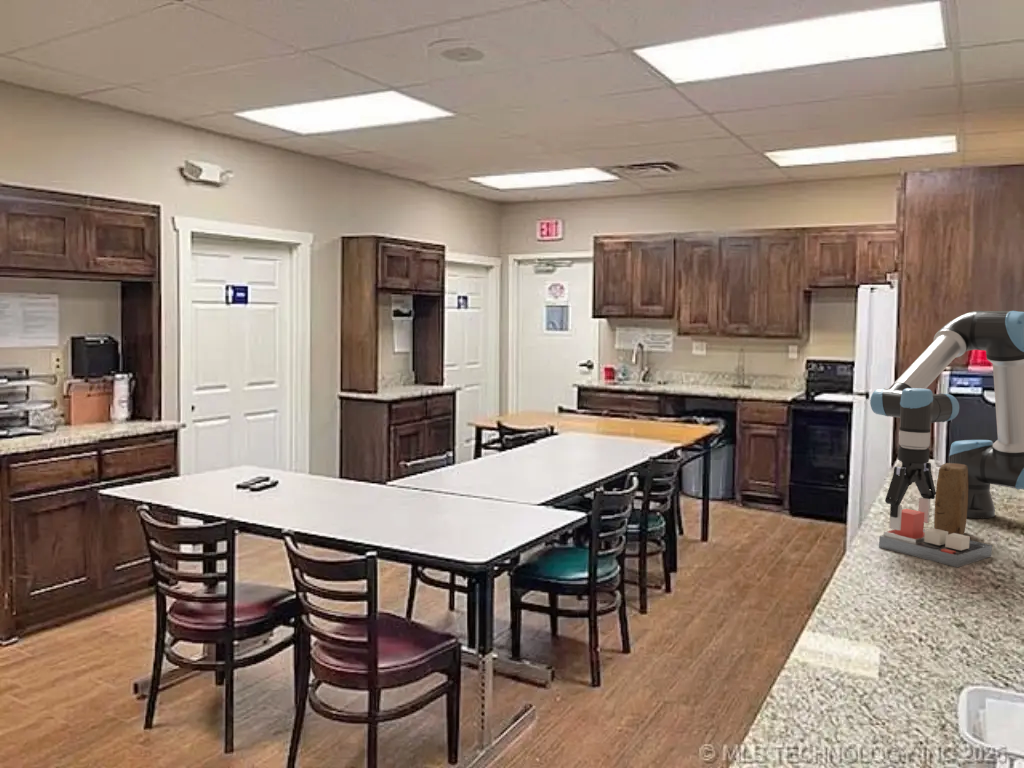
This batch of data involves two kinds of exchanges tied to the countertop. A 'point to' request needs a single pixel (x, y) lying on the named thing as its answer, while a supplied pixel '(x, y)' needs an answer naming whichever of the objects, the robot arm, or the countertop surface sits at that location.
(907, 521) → the coral toy cube
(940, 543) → the toggle
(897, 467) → the robot arm
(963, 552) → the panel
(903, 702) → the countertop surface
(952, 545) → the toggle
